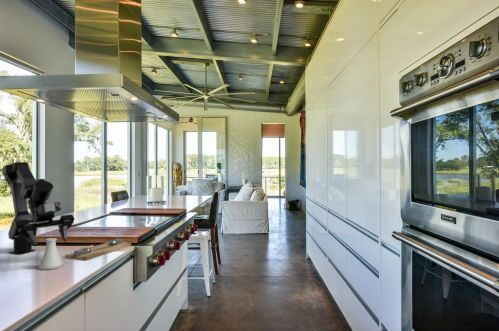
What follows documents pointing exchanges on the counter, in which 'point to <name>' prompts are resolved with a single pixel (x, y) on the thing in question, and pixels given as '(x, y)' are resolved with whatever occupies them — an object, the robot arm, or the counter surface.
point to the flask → (50, 256)
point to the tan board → (98, 251)
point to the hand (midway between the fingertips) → (51, 242)
